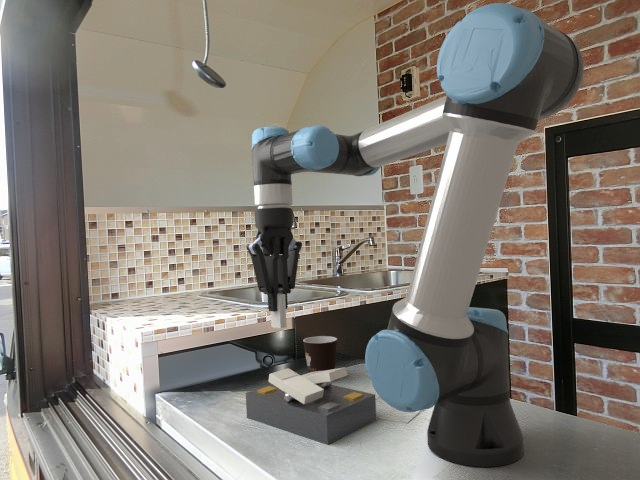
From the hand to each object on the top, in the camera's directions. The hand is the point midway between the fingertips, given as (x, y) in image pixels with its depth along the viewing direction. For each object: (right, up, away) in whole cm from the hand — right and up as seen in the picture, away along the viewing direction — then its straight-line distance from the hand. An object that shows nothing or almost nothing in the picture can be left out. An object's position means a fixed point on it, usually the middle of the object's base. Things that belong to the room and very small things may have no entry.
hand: (278, 327), depth 98 cm
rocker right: (+8, -11, +2) cm, 13 cm away
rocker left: (+3, -11, -3) cm, 12 cm away
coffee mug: (+9, -18, +29) cm, 35 cm away
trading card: (+25, -18, +7) cm, 32 cm away
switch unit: (+6, -18, 0) cm, 19 cm away
